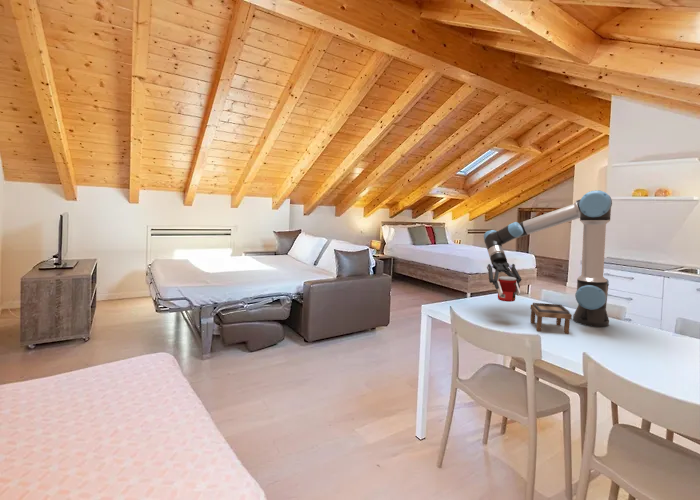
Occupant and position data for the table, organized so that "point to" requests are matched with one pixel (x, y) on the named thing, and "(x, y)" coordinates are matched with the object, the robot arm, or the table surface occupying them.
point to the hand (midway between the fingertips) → (509, 294)
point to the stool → (550, 314)
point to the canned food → (507, 288)
